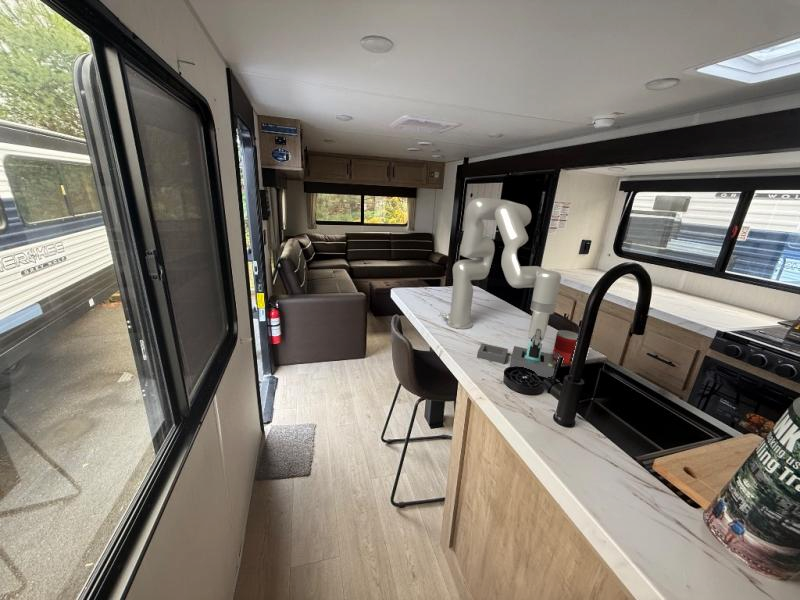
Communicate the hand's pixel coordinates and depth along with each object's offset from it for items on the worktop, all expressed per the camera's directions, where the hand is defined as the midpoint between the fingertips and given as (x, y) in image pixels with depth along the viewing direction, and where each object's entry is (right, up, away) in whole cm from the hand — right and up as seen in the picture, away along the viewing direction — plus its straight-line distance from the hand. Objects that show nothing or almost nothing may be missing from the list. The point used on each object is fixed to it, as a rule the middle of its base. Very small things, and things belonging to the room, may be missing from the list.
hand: (533, 351), depth 110 cm
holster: (-13, -3, +8) cm, 15 cm away
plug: (0, -6, +2) cm, 6 cm away
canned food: (+15, -5, +8) cm, 17 cm away
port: (0, -6, +2) cm, 6 cm away
